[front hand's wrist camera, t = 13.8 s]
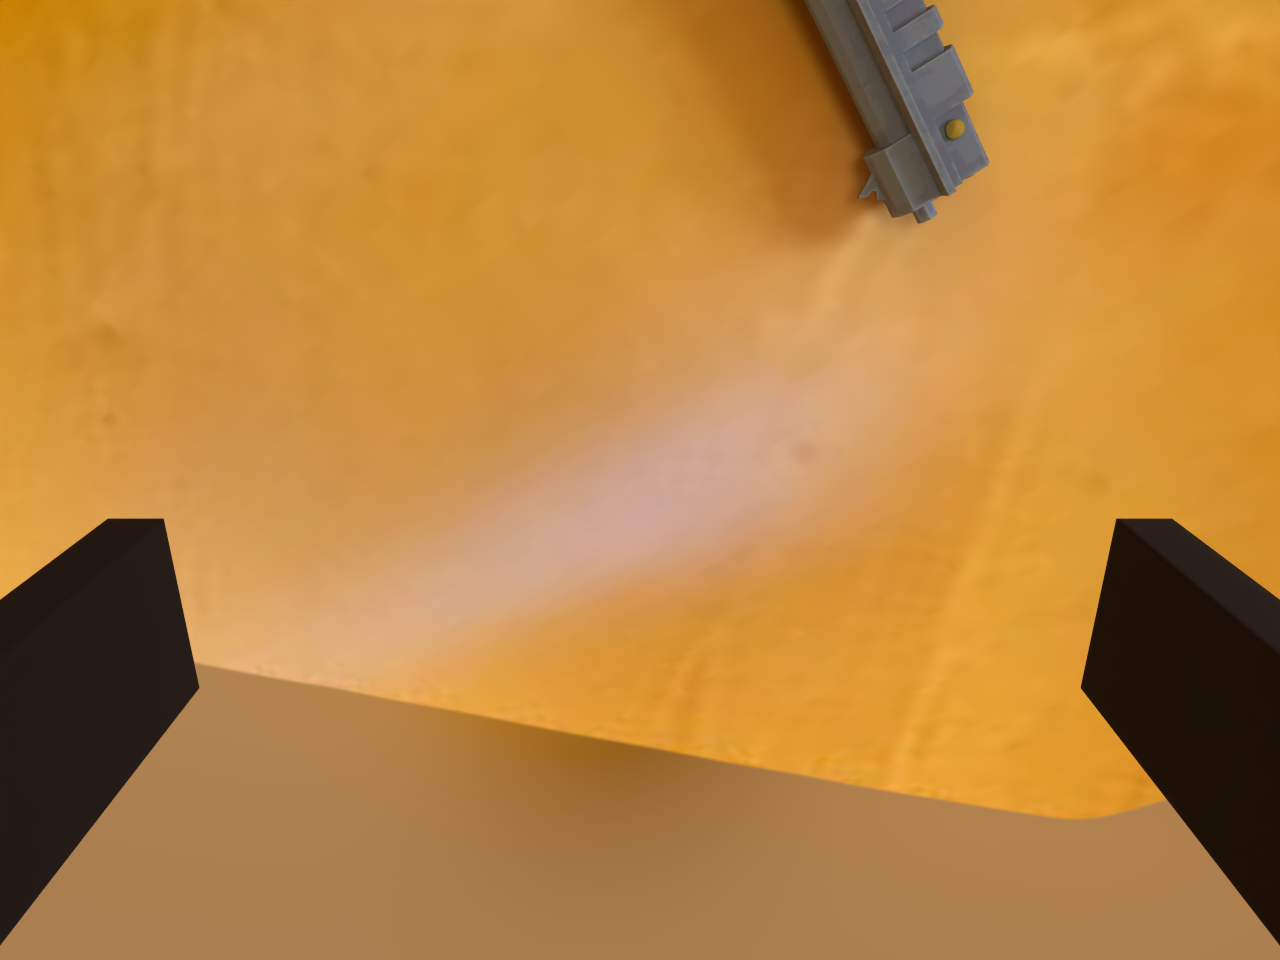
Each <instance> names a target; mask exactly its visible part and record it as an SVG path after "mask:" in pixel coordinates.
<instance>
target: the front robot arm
mask: <svg viewBox="0 0 1280 960" xmlns="http://www.w3.org/2000/svg"><path fill="white" fill-rule="evenodd" d="M198 689H199V684H198V679H197V675H196V670H195V665H194V660H193V656H192V651H191V646H190V641H189V637H188V632H187V627H186V622H185V618H184V613H183V608H182V603H181V599H180V594H179V589H178V585H177V580H176V575H175V570H174V566H173V561H172V556H171V551H170V547H169V542H168V537H167V532H166V528H165V523H164V519H107V520H106V521H104V522H103V523H102V524H100V525H99V526H98V527H96V528H95V529H94V530H92V531H91V532H90V533H88V534H87V535H86V536H84V537H83V538H82V539H80V540H79V541H78V542H76V543H75V544H74V545H72V546H71V547H70V548H68V549H67V550H66V551H64V552H63V553H62V554H60V555H59V556H58V557H56V558H55V559H54V560H52V561H51V562H50V563H48V564H47V565H46V566H44V567H43V568H42V569H40V570H39V571H38V572H37V573H35V574H34V575H33V576H31V577H30V578H29V579H27V580H26V581H25V582H23V583H22V584H21V585H19V586H18V587H17V588H15V589H14V590H13V591H11V592H10V593H9V594H7V595H6V596H5V597H3V598H2V599H1V600H0V945H1V944H2V942H3V941H4V940H5V938H6V937H7V936H8V935H9V933H10V932H11V931H12V929H13V928H14V927H15V925H16V924H17V923H18V922H19V920H20V919H21V918H22V916H23V915H24V914H25V913H26V911H27V910H28V909H29V907H30V906H31V905H32V903H33V902H34V901H35V900H36V898H37V897H38V896H39V894H40V893H41V892H42V891H43V889H44V888H45V887H46V885H47V884H48V883H49V882H50V880H51V879H52V878H53V876H54V875H55V874H56V872H57V871H58V870H59V869H60V867H61V866H62V865H63V863H64V862H65V861H66V859H67V858H68V857H69V856H70V854H71V853H72V852H73V850H74V849H75V848H76V847H77V845H78V844H79V843H80V841H81V840H82V839H83V837H84V836H85V835H86V834H87V832H88V831H89V830H90V829H91V827H92V826H93V825H94V823H95V822H96V821H97V819H98V818H99V817H100V816H101V814H102V813H103V812H104V810H105V809H106V808H107V807H108V805H109V804H110V803H111V801H112V800H113V799H114V797H115V796H116V795H117V794H118V792H119V791H120V790H121V788H122V787H123V786H124V785H125V783H126V782H127V781H128V779H129V778H130V777H131V776H132V774H133V773H134V772H135V770H136V769H137V768H138V766H139V765H140V764H141V763H142V761H143V760H144V759H145V757H146V756H147V755H148V754H149V752H150V751H151V750H152V748H153V747H154V746H155V745H156V743H157V742H158V741H159V739H160V738H161V737H162V735H163V734H164V733H165V732H166V730H167V729H168V728H169V726H170V725H171V724H172V722H173V721H174V720H175V719H176V717H177V716H178V715H179V713H180V712H181V711H182V710H183V708H184V707H185V706H186V704H187V703H188V702H189V701H190V699H191V698H192V697H193V695H194V694H195V693H196V691H197V690H198ZM1081 689H1082V690H1083V692H1084V693H1085V694H1086V695H1087V697H1088V698H1089V699H1090V701H1091V702H1092V703H1093V704H1094V706H1095V707H1096V708H1097V710H1098V711H1099V712H1100V713H1101V715H1102V716H1103V717H1104V719H1105V720H1106V721H1107V723H1108V724H1109V725H1110V726H1111V728H1112V729H1113V730H1114V732H1115V733H1116V734H1117V735H1118V737H1119V738H1120V739H1121V741H1122V742H1123V743H1124V745H1125V746H1126V747H1127V748H1128V750H1129V751H1130V752H1131V754H1132V755H1133V756H1134V757H1135V759H1136V760H1137V761H1138V763H1139V764H1140V765H1141V766H1142V768H1143V769H1144V770H1145V772H1146V773H1147V774H1148V776H1149V777H1150V778H1151V779H1152V781H1153V782H1154V783H1155V785H1156V786H1157V787H1158V788H1159V790H1160V791H1161V792H1162V794H1163V795H1164V796H1165V797H1166V799H1167V800H1168V801H1169V803H1170V804H1171V805H1172V807H1173V808H1174V809H1175V810H1176V812H1177V813H1178V814H1179V816H1180V817H1181V818H1182V819H1183V821H1184V822H1185V823H1186V825H1187V826H1188V827H1189V829H1190V830H1191V831H1192V832H1193V834H1194V835H1195V836H1196V838H1197V839H1198V840H1199V841H1200V843H1201V844H1202V845H1203V847H1204V848H1205V849H1206V850H1207V852H1208V853H1209V854H1210V856H1211V857H1212V858H1213V859H1214V861H1215V862H1216V863H1217V865H1218V866H1219V867H1220V869H1221V870H1222V871H1223V872H1224V874H1225V875H1226V876H1227V878H1228V879H1229V880H1230V882H1231V883H1232V884H1233V885H1234V887H1235V888H1236V889H1237V891H1238V892H1239V893H1240V894H1241V896H1242V897H1243V898H1244V900H1245V901H1246V902H1247V903H1248V905H1249V906H1250V907H1251V909H1252V910H1253V911H1254V913H1255V914H1256V915H1257V916H1258V918H1259V919H1260V920H1261V922H1262V923H1263V924H1264V925H1265V927H1266V928H1267V929H1268V931H1269V932H1270V933H1271V935H1272V936H1273V937H1274V938H1275V940H1276V941H1277V942H1278V943H1279V945H1280V600H1279V599H1278V598H1277V597H1275V596H1274V595H1273V594H1271V593H1270V592H1269V591H1267V590H1266V589H1265V588H1263V587H1262V586H1261V585H1259V584H1258V583H1257V582H1255V581H1254V580H1253V579H1251V578H1250V577H1249V576H1247V575H1246V574H1245V573H1243V572H1242V571H1241V570H1240V569H1238V568H1237V567H1236V566H1234V565H1233V564H1232V563H1230V562H1229V561H1228V560H1226V559H1225V558H1224V557H1222V556H1221V555H1220V554H1218V553H1217V552H1216V551H1214V550H1213V549H1212V548H1210V547H1209V546H1208V545H1206V544H1205V543H1204V542H1202V541H1201V540H1200V539H1198V538H1197V537H1196V536H1194V535H1193V534H1192V533H1190V532H1189V531H1188V530H1186V529H1185V528H1184V527H1182V526H1181V525H1180V524H1178V523H1177V522H1176V521H1174V520H1173V519H1116V523H1115V528H1114V532H1113V537H1112V542H1111V547H1110V551H1109V556H1108V561H1107V566H1106V570H1105V575H1104V580H1103V585H1102V589H1101V594H1100V599H1099V603H1098V608H1097V613H1096V618H1095V622H1094V627H1093V632H1092V637H1091V641H1090V646H1089V651H1088V656H1087V660H1086V665H1085V670H1084V674H1083V679H1082V684H1081Z"/></svg>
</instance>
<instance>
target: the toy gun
mask: <svg viewBox="0 0 1280 960" xmlns="http://www.w3.org/2000/svg"><path fill="white" fill-rule="evenodd" d="M804 2H805V4H806V6H807V8H808V10H809V12H810V14H811V16H812V18H813V20H814V22H815V24H816V26H817V28H818V30H819V32H820V34H821V36H822V39H823V41H824V43H825V45H826V47H827V49H828V51H829V53H830V55H831V57H832V59H833V61H834V63H835V65H836V67H837V69H838V71H839V73H840V75H841V77H842V79H843V81H844V84H845V86H846V88H847V90H848V92H849V94H850V96H851V98H852V100H853V102H854V104H855V106H856V108H857V110H858V112H859V114H860V116H861V118H862V120H863V122H864V124H865V126H866V129H867V131H868V133H869V135H870V137H871V139H872V141H873V143H874V145H875V146H873V147H871V148H870V149H869V150H868V151H867V152H866V153H865V154H864V156H863V160H864V162H865V164H866V166H867V168H868V170H869V172H870V175H869V177H868V179H867V181H866V182H865V184H864V186H863V188H862V189H861V191H860V193H859V195H858V198H859V199H862V198H867V197H869V196H870V194H871V193H872V191H875V197H876V200H884V202H885V204H886V206H887V208H888V210H889V212H890V214H891V216H892V218H893V217H900V216H903V215H906V214H909V213H911V212H913V214H914V216H915V218H916V220H917V222H918V223H923V222H925V221H928V220H930V219H931V218H933V217H934V216H935V215H936V214H937V212H936V210H935V208H934V206H933V204H932V201H933V200H934V199H936V198H938V197H939V196H949V195H951V194H952V193H954V192H956V189H955V187H956V186H958V185H959V184H961V183H963V182H962V180H964V179H966V178H969V177H971V176H972V175H974V174H975V173H976V172H977V171H979V170H981V169H982V168H984V167H986V166H987V165H989V160H988V158H987V155H986V153H985V151H984V149H983V146H982V144H981V142H980V140H979V138H978V135H977V133H976V131H975V129H974V126H973V124H972V122H971V120H970V117H969V115H968V113H967V111H966V108H965V106H964V104H963V102H962V101H964V100H966V99H967V98H969V97H971V96H972V94H973V89H972V87H971V85H970V83H969V80H968V78H967V76H966V74H965V71H964V69H963V67H962V65H961V62H960V60H959V58H958V55H957V53H956V51H955V49H954V46H953V45H948V46H945V47H944V46H943V44H942V42H941V40H940V37H939V35H938V33H937V31H938V30H939V29H941V28H942V27H943V26H944V24H943V21H942V19H941V17H940V15H939V12H938V10H937V8H936V6H935V5H932V6H930V7H927V8H926V6H925V4H924V1H923V0H804Z"/></svg>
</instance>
